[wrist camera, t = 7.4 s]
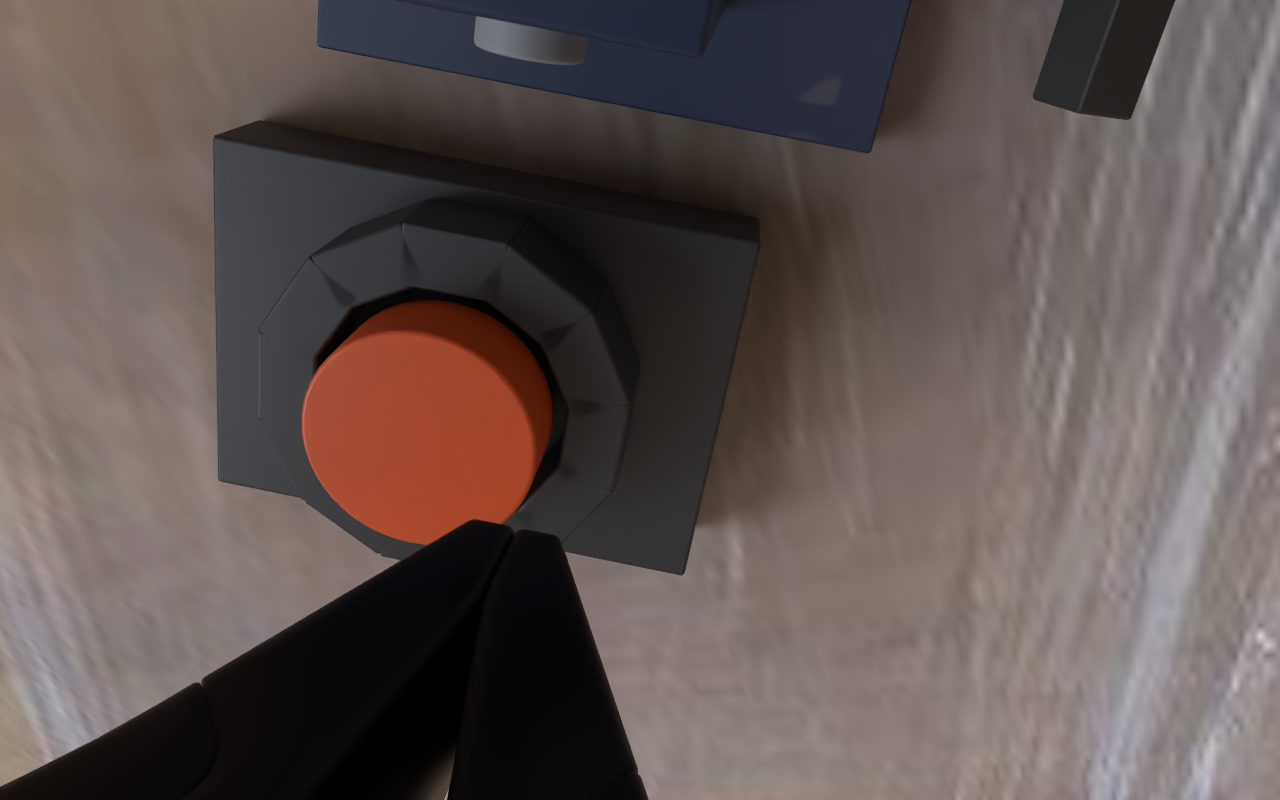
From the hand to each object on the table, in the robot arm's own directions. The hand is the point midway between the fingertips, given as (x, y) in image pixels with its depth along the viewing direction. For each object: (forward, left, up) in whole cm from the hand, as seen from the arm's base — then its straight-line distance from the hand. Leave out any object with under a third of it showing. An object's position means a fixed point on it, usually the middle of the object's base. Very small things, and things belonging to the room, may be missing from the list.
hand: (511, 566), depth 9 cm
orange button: (+3, +4, -10) cm, 11 cm away
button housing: (+3, +4, -13) cm, 14 cm away
